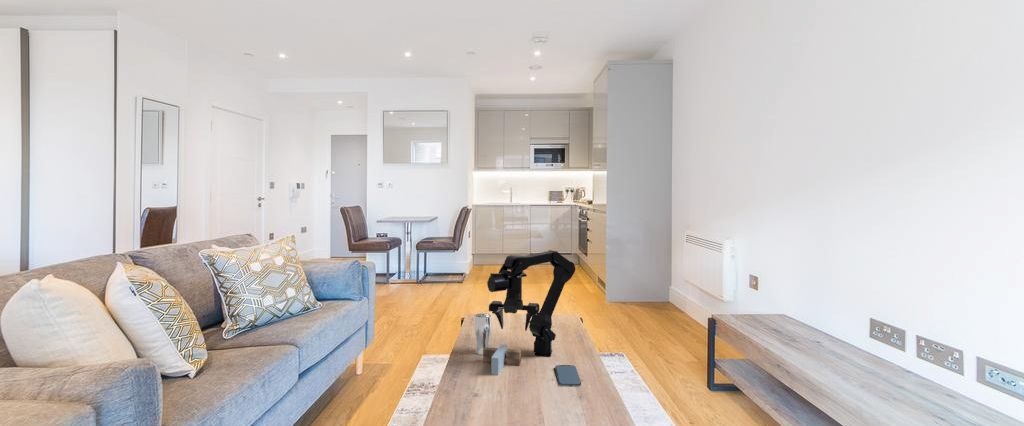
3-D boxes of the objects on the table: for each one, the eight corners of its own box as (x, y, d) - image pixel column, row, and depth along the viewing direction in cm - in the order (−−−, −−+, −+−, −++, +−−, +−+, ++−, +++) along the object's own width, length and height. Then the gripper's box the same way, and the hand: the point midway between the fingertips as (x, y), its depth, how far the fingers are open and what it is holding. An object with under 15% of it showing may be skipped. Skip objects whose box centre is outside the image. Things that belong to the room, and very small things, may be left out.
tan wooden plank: (520, 363, 160) (520, 350, 160) (519, 365, 158) (519, 352, 157) (484, 360, 163) (484, 347, 163) (483, 362, 160) (483, 349, 160)
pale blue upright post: (507, 360, 163) (507, 344, 163) (498, 375, 149) (498, 358, 149) (500, 359, 163) (500, 344, 163) (491, 374, 150) (491, 357, 149)
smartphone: (559, 384, 141) (554, 364, 156) (559, 388, 141) (554, 369, 156) (582, 384, 140) (575, 364, 155) (581, 389, 141) (575, 369, 156)
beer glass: (489, 356, 167) (489, 318, 166) (472, 354, 168) (472, 317, 168) (493, 349, 174) (493, 313, 173) (477, 348, 175) (477, 312, 175)
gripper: (484, 292, 155) (484, 334, 156) (535, 295, 151) (534, 338, 152) (492, 286, 166) (492, 325, 167) (539, 288, 162) (539, 328, 163)
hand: (514, 329), depth 162 cm, fingers open, 9 cm apart
